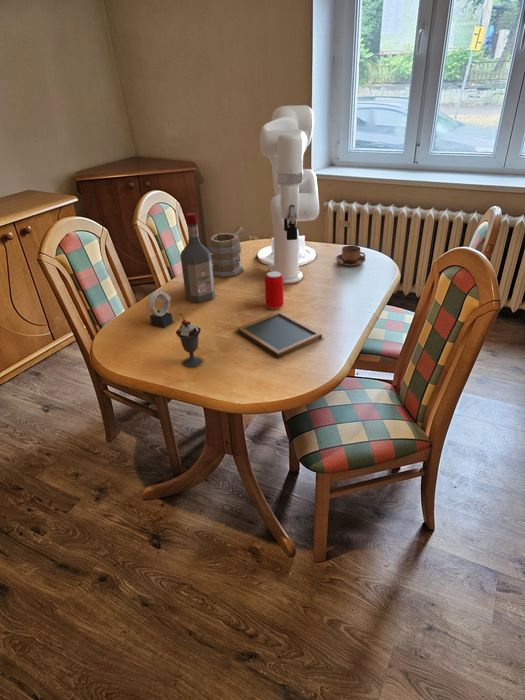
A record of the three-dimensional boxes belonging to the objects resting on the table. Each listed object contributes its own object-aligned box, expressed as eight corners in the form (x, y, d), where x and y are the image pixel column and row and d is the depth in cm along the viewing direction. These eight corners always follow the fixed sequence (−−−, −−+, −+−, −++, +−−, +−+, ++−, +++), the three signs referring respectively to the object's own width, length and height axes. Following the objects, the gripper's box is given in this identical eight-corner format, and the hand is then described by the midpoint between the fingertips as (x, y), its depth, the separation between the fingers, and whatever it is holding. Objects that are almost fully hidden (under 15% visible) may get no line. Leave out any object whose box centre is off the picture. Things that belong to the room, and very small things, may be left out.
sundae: (181, 356, 132) (174, 310, 124) (204, 355, 132) (199, 308, 124) (179, 369, 126) (172, 321, 118) (204, 367, 127) (198, 320, 119)
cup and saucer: (365, 258, 193) (366, 244, 190) (364, 269, 183) (365, 254, 180) (337, 257, 196) (337, 243, 192) (334, 267, 186) (335, 252, 183)
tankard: (229, 279, 179) (227, 241, 171) (204, 273, 185) (200, 237, 177) (257, 262, 193) (255, 227, 185) (233, 257, 199) (230, 223, 191)
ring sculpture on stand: (176, 319, 152) (172, 288, 146) (160, 330, 146) (155, 298, 140) (163, 316, 154) (158, 285, 148) (147, 326, 148) (141, 295, 143)
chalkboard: (237, 332, 143) (237, 327, 142) (279, 315, 152) (279, 311, 151) (278, 358, 130) (278, 353, 129) (321, 338, 138) (321, 333, 137)
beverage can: (266, 302, 160) (265, 270, 154) (284, 302, 160) (283, 270, 153) (264, 310, 155) (263, 277, 149) (283, 310, 155) (282, 277, 148)
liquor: (217, 298, 165) (209, 214, 149) (194, 305, 161) (183, 219, 145) (206, 289, 171) (197, 208, 155) (183, 295, 167) (172, 213, 151)
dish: (275, 271, 184) (275, 244, 178) (248, 253, 203) (247, 228, 197) (326, 259, 194) (327, 233, 188) (296, 243, 213) (296, 218, 207)
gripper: (275, 174, 145) (276, 228, 153) (279, 184, 130) (280, 244, 138) (299, 173, 145) (299, 227, 153) (306, 183, 130) (305, 242, 139)
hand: (290, 235), depth 146 cm, fingers open, 9 cm apart
